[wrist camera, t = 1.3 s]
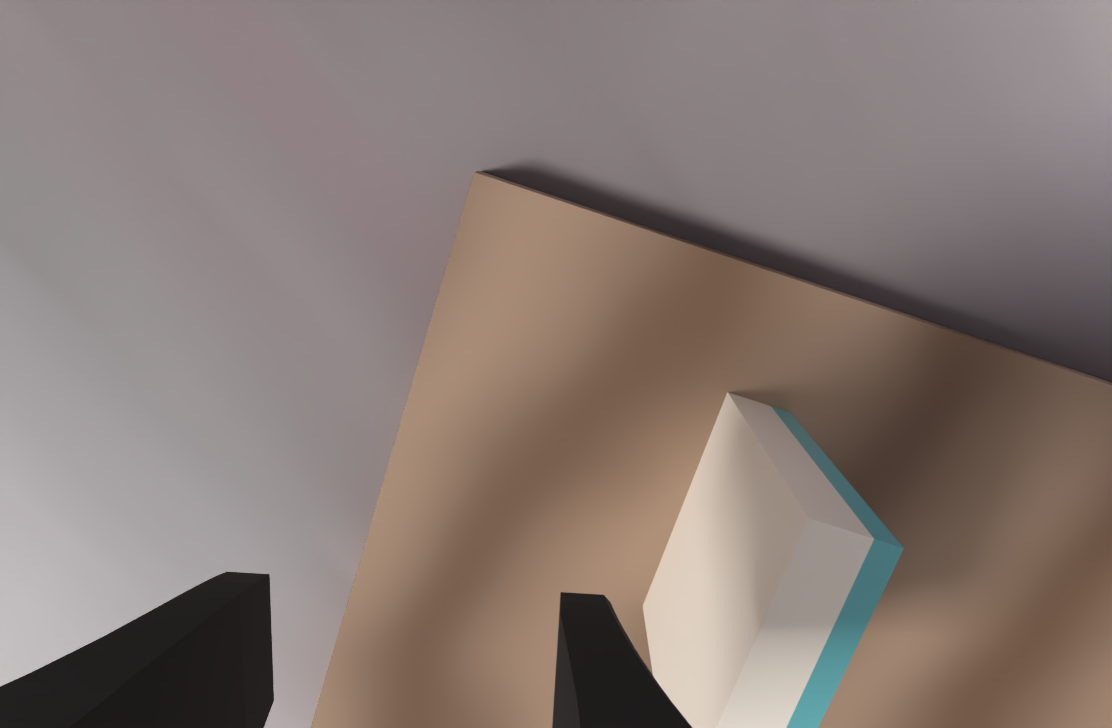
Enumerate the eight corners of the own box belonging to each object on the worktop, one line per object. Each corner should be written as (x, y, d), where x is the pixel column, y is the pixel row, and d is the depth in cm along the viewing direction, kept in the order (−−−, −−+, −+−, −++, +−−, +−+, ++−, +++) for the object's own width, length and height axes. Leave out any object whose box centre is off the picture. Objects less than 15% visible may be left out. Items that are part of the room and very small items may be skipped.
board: (1310, 448, 21) (1353, 466, 20) (1026, 926, 25) (1048, 964, 24) (479, 171, 20) (474, 172, 18) (318, 719, 23) (304, 748, 22)
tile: (790, 412, 20) (903, 548, 13) (701, 624, 21) (761, 846, 14) (727, 391, 20) (808, 517, 13) (642, 606, 21) (674, 820, 14)
